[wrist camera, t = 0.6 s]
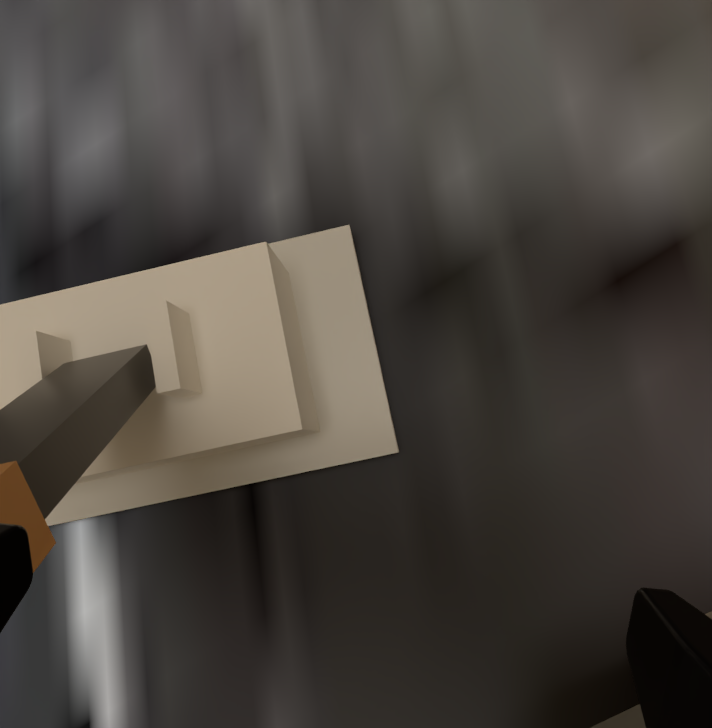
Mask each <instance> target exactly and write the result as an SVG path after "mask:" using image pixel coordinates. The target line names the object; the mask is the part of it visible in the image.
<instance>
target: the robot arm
mask: <svg viewBox="0 0 712 728" xmlns="http://www.w3.org/2000/svg"><path fill="white" fill-rule="evenodd" d="M32 577H33V567H32V560H31V553H30V546H29V538H28V533H27V531H26V529H25V528H24V527H22V526H21V525H14V524H4V523H0V633H1V631H2V630H3V628H4V626H5V625H6V623H7V622H8V620H9V619H10V617H11V616H12V614H13V612H14V611H15V609H16V608H17V606H18V605H19V603H20V602H21V600H22V598H23V597H24V595H25V594H26V592H27V591H28V589H29V587H30V584H31V582H32ZM626 649H627V656H628V660H629V664H630V668H631V672H632V675H633V679H634V683H635V687H636V691H637V695H638V699H639V703H640V707H641V711H642V715H643V719H644V723H645V726H646V728H712V619H711V618H709V617H708V616H707V615H705V614H704V613H702V612H701V611H699V610H698V609H696V608H695V607H694V606H692V605H691V604H689V603H688V602H686V601H685V600H684V599H682V598H681V597H679V596H678V595H676V594H675V593H673V592H672V591H669V590H663V589H652V588H640V589H639V590H637V592H636V594H635V597H634V601H633V606H632V611H631V616H630V622H629V627H628V632H627V638H626Z"/></svg>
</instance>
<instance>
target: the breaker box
mask: <svg viewBox="0 0 712 728" xmlns="http://www.w3.org/2000/svg"><path fill="white" fill-rule="evenodd" d="M145 344H147V346H148V349H149V352H150V354H151V358H152V365H153V371H154V377H155V384H156V387H155V388H154V390H153V391H152V392H151V393H150V394H149V396H148V397H147V398H146V399H145V400H144V402H143V403H142V404H141V405H140V406H139V408H138V409H137V410H136V411H135V412H134V414H133V415H132V416H131V417H130V418H129V420H128V421H127V422H126V423H125V424H124V426H123V427H122V428H121V429H120V430H119V431H118V433H117V434H116V435H115V436H114V437H113V439H112V440H111V441H110V442H109V443H108V445H107V446H106V447H105V448H104V449H103V451H102V452H101V453H100V454H99V455H98V457H97V458H96V459H95V460H94V461H93V463H92V464H91V465H90V466H89V467H88V469H87V470H86V471H85V472H84V473H83V475H82V476H81V477H80V478H79V479H78V481H77V482H76V483H75V484H74V485H73V487H72V488H71V489H70V490H69V491H68V493H67V494H66V495H65V496H64V497H63V499H62V500H61V501H60V502H59V503H58V505H57V506H56V507H55V508H54V509H53V511H52V512H51V513H50V514H49V515H48V517H47V518H46V519H45V521H46V523H47V525H48V526H51V525H56V524H61V523H65V522H70V521H75V520H80V519H84V518H89V517H94V516H99V515H103V514H108V513H113V512H118V511H122V510H127V509H132V508H137V507H141V506H146V505H151V504H156V503H160V502H165V501H170V500H175V499H179V498H184V497H189V496H194V495H198V494H203V493H208V492H213V491H217V490H222V489H227V488H232V487H236V486H241V485H246V484H251V483H255V482H260V481H265V480H270V479H274V478H279V477H284V476H289V475H293V474H298V473H303V472H308V471H312V470H317V469H322V468H327V467H331V466H336V465H341V464H346V463H350V462H355V461H360V460H365V459H369V458H374V457H379V456H384V455H388V454H393V453H398V452H399V448H398V444H397V439H396V435H395V430H394V425H393V421H392V416H391V412H390V407H389V402H388V398H387V393H386V389H385V384H384V380H383V375H382V370H381V366H380V361H379V357H378V352H377V347H376V343H375V338H374V334H373V329H372V324H371V320H370V315H369V311H368V306H367V301H366V297H365V292H364V288H363V283H362V278H361V274H360V269H359V265H358V260H357V255H356V251H355V246H354V242H353V237H352V233H351V230H350V226H349V225H346V226H342V227H338V228H333V229H329V230H325V231H321V232H317V233H312V234H308V235H304V236H300V237H296V238H291V239H287V240H283V241H279V242H274V243H270V244H268V243H267V242H262V243H258V244H254V245H249V246H245V247H241V248H237V249H233V250H228V251H224V252H220V253H216V254H212V255H207V256H203V257H199V258H195V259H191V260H186V261H182V262H178V263H174V264H170V265H165V266H161V267H157V268H153V269H149V270H144V271H140V272H136V273H132V274H128V275H123V276H119V277H115V278H111V279H107V280H102V281H98V282H94V283H90V284H86V285H81V286H77V287H73V288H69V289H65V290H60V291H56V292H52V293H48V294H44V295H39V296H35V297H31V298H27V299H23V300H18V301H14V302H10V303H6V304H2V305H0V410H1V409H2V408H3V407H5V406H6V405H7V404H9V403H10V402H12V401H13V400H14V399H16V398H17V397H18V396H20V395H21V394H23V393H24V392H25V391H27V390H28V389H29V388H31V387H32V386H34V385H35V384H36V383H38V382H39V381H40V380H42V379H43V378H45V377H46V376H47V375H49V374H50V373H51V372H53V371H54V370H55V369H57V368H58V367H60V366H61V365H62V364H64V363H67V362H71V361H76V360H80V359H84V358H89V357H93V356H98V355H102V354H106V353H111V352H115V351H119V350H124V349H128V348H132V347H137V346H141V345H145Z"/></svg>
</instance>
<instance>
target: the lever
mask: <svg viewBox="0 0 712 728" xmlns="http://www.w3.org/2000/svg"><path fill="white" fill-rule="evenodd" d="M155 387H156V384H155V377H154V371H153V365H152V358H151V354H150V352H149V349H148V346H147V344H145V345H141V346H137V347H132V348H128V349H124V350H119V351H115V352H111V353H106V354H102V355H98V356H93V357H89V358H84V359H80V360H76V361H71V362H67V363H64V364H62V365H61V366H60V367H58V368H57V369H55V370H54V371H53V372H51V373H50V374H49V375H47V376H46V377H45V378H43V379H42V380H40V381H39V382H38V383H36V384H35V385H34V386H32V387H31V388H29V389H28V390H27V391H25V392H24V393H23V394H21V395H20V396H18V397H17V398H16V399H14V400H13V401H12V402H10V403H9V404H7V405H6V406H5V407H3V408H2V409H1V410H0V523H4V524H14V525H21V526H22V527H24V528H25V529H26V531H27V533H28V538H29V546H30V553H31V560H32V567H33V572H34V571H35V570H36V568H37V567H38V566H39V565H40V563H41V562H42V561H43V559H44V558H45V557H46V555H47V554H48V553H49V551H50V550H51V549H52V547H53V546H54V545H55V543H56V542H55V540H54V538H53V536H52V534H51V532H50V530H49V527H48V525H47V523H46V521H45V519H46V518H47V517H48V515H49V514H50V513H51V512H52V511H53V509H54V508H55V507H56V506H57V505H58V503H59V502H60V501H61V500H62V499H63V497H64V496H65V495H66V494H67V493H68V491H69V490H70V489H71V488H72V487H73V485H74V484H75V483H76V482H77V481H78V479H79V478H80V477H81V476H82V475H83V473H84V472H85V471H86V470H87V469H88V467H89V466H90V465H91V464H92V463H93V461H94V460H95V459H96V458H97V457H98V455H99V454H100V453H101V452H102V451H103V449H104V448H105V447H106V446H107V445H108V443H109V442H110V441H111V440H112V439H113V437H114V436H115V435H116V434H117V433H118V431H119V430H120V429H121V428H122V427H123V426H124V424H125V423H126V422H127V421H128V420H129V418H130V417H131V416H132V415H133V414H134V412H135V411H136V410H137V409H138V408H139V406H140V405H141V404H142V403H143V402H144V400H145V399H146V398H147V397H148V396H149V394H150V393H151V392H152V391H153V390H154V388H155Z"/></svg>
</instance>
